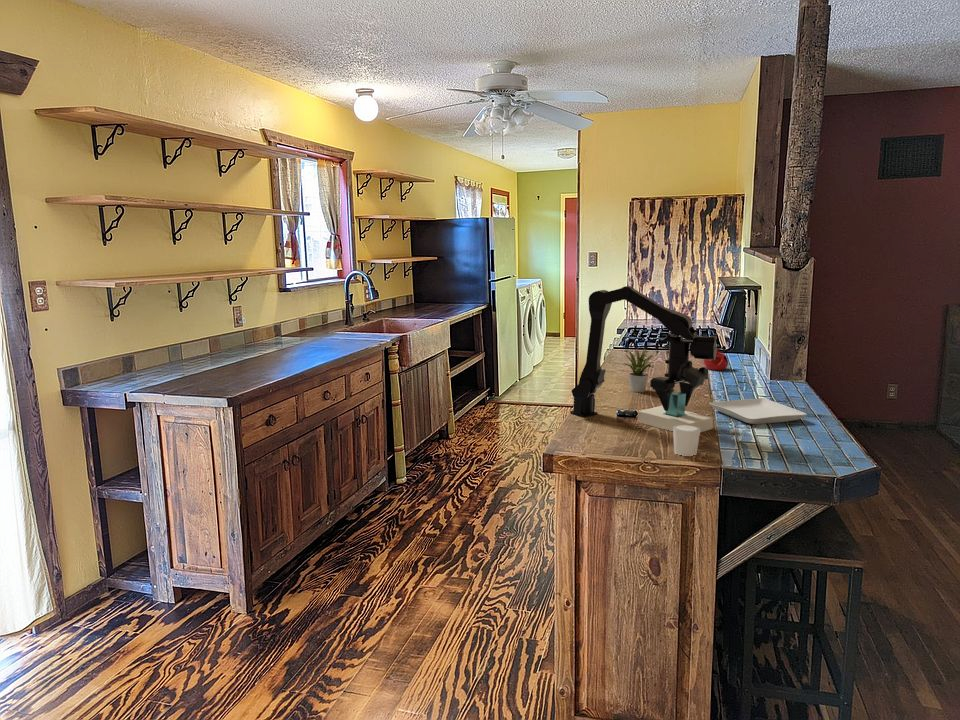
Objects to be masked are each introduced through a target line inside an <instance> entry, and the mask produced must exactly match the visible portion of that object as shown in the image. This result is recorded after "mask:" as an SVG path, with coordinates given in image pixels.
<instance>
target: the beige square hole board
mask: <svg viewBox="0 0 960 720" xmlns="http://www.w3.org/2000/svg"><path fill="white" fill-rule="evenodd" d="M637 413H638V414H637V423H640V424H644V425H646V426H651V427H654V428H658V429H661V430H664V429H665V431H668V430H669V431H668V432H672V431H673V426H675V425H692V426H696V427H699V428H700V433H703V432H708V431H709V430H713V427H714V417H713V416H709V415H705V414H701V413H695V412H692V411H687V410H685V416H682V417H678V418H677V417H673V416H669V415H665V410H664V408H663V406H662V405H659V406H654V407H651V408H646V409H643V410H638V412H637Z"/></svg>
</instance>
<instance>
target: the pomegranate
mask: <svg viewBox="0 0 960 720" xmlns="http://www.w3.org/2000/svg"><path fill="white" fill-rule="evenodd" d="M719 350H720V348H718V347H717V352H716V358H715V360H707V359H703V364H704V367H705V368H708V370H709V369H710V371H714V370H717V371H724V370H726V369H727V367H728V365H729V361H728V357H727V356H726V354H725V353H724V352H723V351H719ZM717 371H716V372H717Z"/></svg>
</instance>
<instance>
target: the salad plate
mask: <svg viewBox="0 0 960 720" xmlns="http://www.w3.org/2000/svg"><path fill="white" fill-rule="evenodd" d="M709 405H710V406H711V407H712V409H715V410H716V411H718V412H720V413H723V414H724V415H726V416H729V417H731V418H734V419H737V420H739V421H742V422H744V423H746V424H750V425H762V424H765V425H766V424H776V423H785V422H786V423H787V422H795V421H797V420H801V419H803V418H805V417H806V416H807V414H808V413H806V412H804V411H801V410H798V409H797V408H796V409H795V408H793V407H790V406H788V405H784V404H782V403H779V402H776V401H773V400H770V399H767V398H763V397H760V398H759V397H758V398H746V399H745V398H744V399H733V400H721V401H712V402H711V401H710V402H709Z"/></svg>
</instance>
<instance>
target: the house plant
mask: <svg viewBox="0 0 960 720" xmlns="http://www.w3.org/2000/svg"><path fill="white" fill-rule="evenodd" d="M627 352H628V353H629V356H628V354H626V353H623V354H624V355H625V356H626V357H627V359H628V360H629V361H630V362H631V364H630V363H629V364H628V363H621V366H622V365H624V366H628V367H630V369H631V371H632V372H629V373H628V381H629V388H630V389H629V390H630V391H631V392H634V393H644V392H645V391H646V387H647V383H648V378H649V374H648V373H645V371H646V370H649V369H650V368H653V369H655V366H653V365H651V364H654V363H656V362H649V361H650V360H652V359H654V357H656V356H657V355H659V353H658V352H656V353H652V354H650V355H649V356H648V357H646V354H647V350H646V348H645V347H644V348H643V350H642V353H641V354H640V352H639V349H638V348H636V351H635V352H634V353H635V354H636V357H635V355H634V353H632V352H631V351H630V350H627ZM645 357H646V358H645ZM636 360H637V361H636ZM648 362H649V363H648Z"/></svg>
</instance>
